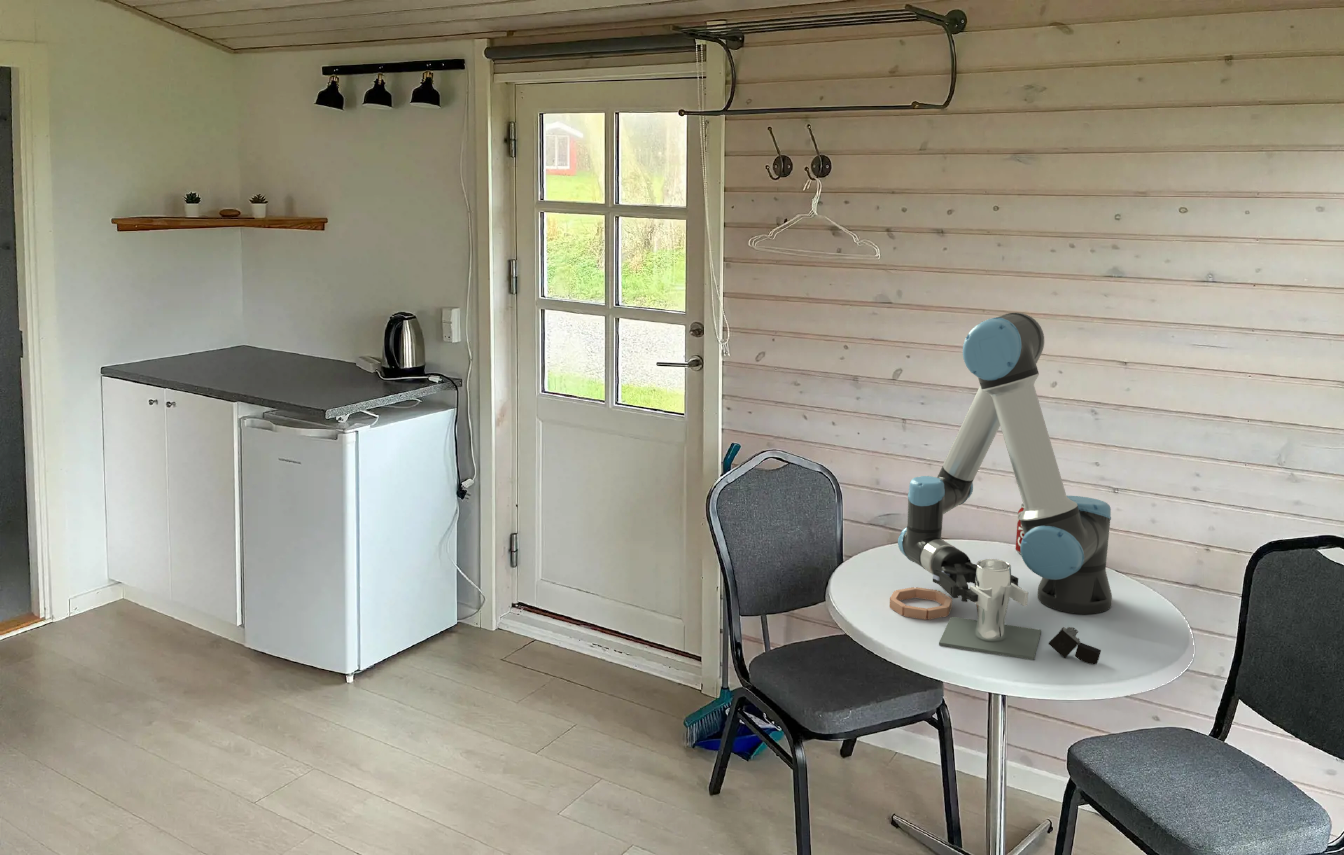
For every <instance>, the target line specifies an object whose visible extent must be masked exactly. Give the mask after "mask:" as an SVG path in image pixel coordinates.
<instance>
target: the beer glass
mask: <svg viewBox="0 0 1344 855" xmlns="http://www.w3.org/2000/svg"><path fill="white" fill-rule="evenodd" d="M976 565H977V566H976V574H975V584H974V587H976V588H977V589H979V590H980V591H982V592H984V593H985V594H987V595H988V596H990V597H991V609H990V611H986V610H985V609H983V608H982V607H980V606H979V605H977V604H976V603H975V605H976V613H977V617H976V618H977V619H976V620H977V625H976V629H975V636H976V637H977V638H979V639H981V640H984V641H990V642H997V641H1002V640H1004V639H1005V638H1006V629H1005V624H1006V615H1007V610H1008V606H1009V604H1010V603H1009V602H1010V599H1011V598H1010V593H1011V575H1012V565H1011V564H1010V563H1009V562H1007V561H1005V560H1000V559H997V558H995V559H994V558H986V559H981V560H978V561H977V562H976Z"/></svg>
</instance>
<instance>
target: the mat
mask: <svg viewBox="0 0 1344 855" xmlns="http://www.w3.org/2000/svg"><path fill="white" fill-rule="evenodd" d="M976 625H977V619H972V618H971V619H970V618H964V617H963V618H962V617H957V616H950V618H949V620H948V622H947V625H946V626H945V628H944V631H943V633H942V635H941V637H940V639H939V642H938V646H940V647H942V646H943V647H946V648H947V647H948V648H952V649H953V648H954V649H961V650H966V651H967V650H968V651H972V652H973V651H974V652H980V653H985V654H986V653H987V654H993V655H999V656H1004V657H1012V658H1018V659H1025V660H1031V661H1035V657H1036V653H1037V649H1038V645H1039V642H1040V637H1041V634H1042V629H1038V628H1032V627H1024V626H1018V625H1012V624H1011V625H1010V624H1006V623H1005V629H1006V638H1005V639H1004V640H1002V641H997V642H990V641H984V640H981V639H979V638H977V637H976V636H975V629H976Z"/></svg>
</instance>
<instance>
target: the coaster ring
mask: <svg viewBox="0 0 1344 855" xmlns="http://www.w3.org/2000/svg"><path fill="white" fill-rule="evenodd" d="M910 599H921V600H929V601H934V602H936V603H938V604H940V605H937V606H934V607H933V606H932V607H918V606H911V605H906V604H905V603H904V602H902V601H906V600H910ZM952 608H953V597H951V596H950V595H948V594H946V593H943V592H942V591H941V590H937V589H933V588H926V587H919V586H917V587H916V586H915V587H914V586H913V587H912V586H911V587H907V588H902V589H896V590H894V591H893V592H892V594H891V596H890V598H889V609H891V610H892V611H894V612H896V613H897V614H899V615H900V616H902V617H905V618H911V619H918V620H924V621H925V620H935V619H939V618H940V619H941V618H944V617H948V616H949V615H950V613H951V610H952Z"/></svg>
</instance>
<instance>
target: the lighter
mask: <svg viewBox="0 0 1344 855" xmlns="http://www.w3.org/2000/svg"><path fill="white" fill-rule="evenodd" d="M1078 633H1079V631H1078V630H1077V629H1076V628H1075V627H1072V626H1068V627H1067V628H1066V626H1065V627H1064V626H1063V627H1061V629H1060V630H1059V631H1058V632H1057V634H1056V635H1055V636H1054V637H1053V638H1052V639H1050V641H1049V642H1048V643H1047V645H1049V646H1050V647H1051V648H1052V649H1053V650H1054V651H1056V652H1057V653H1058V654H1059V655H1060V656H1061V657H1063V658H1064V659H1066V658H1067V657H1068V655H1070V653H1072V651H1073V650H1075V649H1076V651H1075V654H1074V657H1075V658H1076V659H1078V660H1079V661H1080V662H1083V663H1086V664H1089V665H1097V663H1098V662H1099V658H1100V655H1101V652H1102V650H1101V649H1099V648H1096V647H1094V646H1092V645H1088V644H1087V643H1083V642H1081V639H1080V638H1079V637H1077V635H1078Z"/></svg>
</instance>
